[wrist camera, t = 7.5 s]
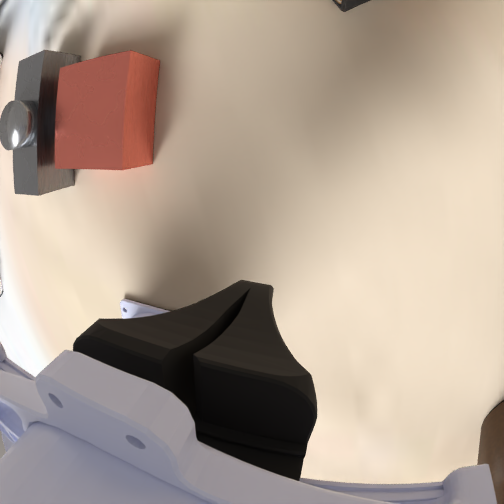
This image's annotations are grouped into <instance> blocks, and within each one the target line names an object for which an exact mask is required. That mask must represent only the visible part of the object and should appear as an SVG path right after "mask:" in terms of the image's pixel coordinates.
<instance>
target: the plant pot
mask: <svg viewBox="0 0 504 504" xmlns="http://www.w3.org/2000/svg"><path fill="white" fill-rule="evenodd" d="M482 464H489V468H490V472H491V477H492V481H493V486H494V491H495V496H496V501H497V504H504V401H503V402H502V403H500V404H499V405H498V406H497V407H495V408H494V409H493V410H492V411H491V412H490V413H489V415H488V416H487V417H486V419H485V420H484V422H483V424H482V427H481V436H480V445H479V454H478V464H477V465H482Z"/></svg>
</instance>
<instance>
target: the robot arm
mask: <svg viewBox="0 0 504 504" xmlns="http://www.w3.org/2000/svg"><path fill="white" fill-rule="evenodd" d="M273 289H274V288H273V287H272V286H271V285H266V284H261V283H255V282H250V281H244V280H240V281H238V282H236V283H235V284H233V285H231V286H229V287H227V288H226V289H224V290H222V291H220V292H218V293H216V294H214V295H212V296H210V297H208V298H206V299H204V300H201V301H199V302H197V303H195V304H192V305H190V306H187V307H184V308H181V309H178V310H174V311H168V310H164V309H160V308H157V307H153V306H149V305H146V304H142V303H138V302H135V301H131V300H128V299H123V300H121V302H120V306H121V312H122V319H99V320H97V321H96V322H95V323H94V324H93V325H91V326H90V327H89V328H88V329H87V330H86V331H85V332H83V333H82V334H81V335H80V336H79V337H78V338H77V339H76V340H75V342H74V344H73V351H69V350H64V351H63V352H62V353H61V354H60V355H59V356H58V357H57V358H55V359H54V360H53V361H52V362H51V363H50V364H49V365H48V366H47V367H46V368H44V369H43V370H42V371H41V372H40V373H39V374H38V375H37V376H36V378H35V377H34V376H32V375H31V374H29V373H28V372H27V371H25V370H24V369H22V368H21V367H19V366H18V365H16V364H15V363H14V362H12V361H11V360H10V359H8V358H7V356H6V353H5V350H4V348H3V346H2V344H1V343H0V431H1V432H2V439H3V443H4V446H5V450H6V453H5V454H4V456H3V457H2V458H1V459H0V504H497V501H496V496H495V491H494V486H493V481H492V477H491V472H490V468H489V464H482V465H475V466H467V467H462V468H458V469H456V470H454V471H453V472H451V473H450V474H449V475H448V476H447V477H446V478H445V480H444V481H442V482H431V483H415V484H362V483H345V482H333V481H323V480H314V479H307V478H300V476H301V470H302V465H303V459H304V457H305V454H306V449H307V443H308V441H309V438H310V436H311V433H312V431H313V428H314V426H315V423H316V419H317V400H316V393H315V388H314V384H313V380H312V376H311V374H310V373H309V372H308V371H307V370H306V369H305V368H304V367H302V366H301V365H300V364H299V363H298V362H297V361H296V359H295V358H294V357H293V355H292V354H291V352H290V351H289V349H288V348H287V346H286V345H285V343H284V341H283V339H282V337H281V335H280V332H279V330H278V327H277V325H276V321H275V318H274V314H273V308H272V297H273ZM125 308H126V309H127V310H126V309H125Z"/></svg>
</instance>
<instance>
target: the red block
mask: <svg viewBox="0 0 504 504" xmlns="http://www.w3.org/2000/svg"><path fill="white" fill-rule="evenodd" d="M159 66H160V61H159V60H157V59H154V58H151V57H149V56H146V55H143V54H140V53H137V52H134V51H131V50H130V51H125V52H120V53H115V54H111V55H106V56H102V57H98V58H94V59H90V60H86V61H82V62H79V63H75V64H72V65H68V66H65V67H62V68H60V72H59V81H58V90H57V102H56V119H55V169H104V170H126V169H130V168H135V167H140V166H145V165H151V164H153V141H154V123H155V108H156V96H157V85H158V75H159Z"/></svg>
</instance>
